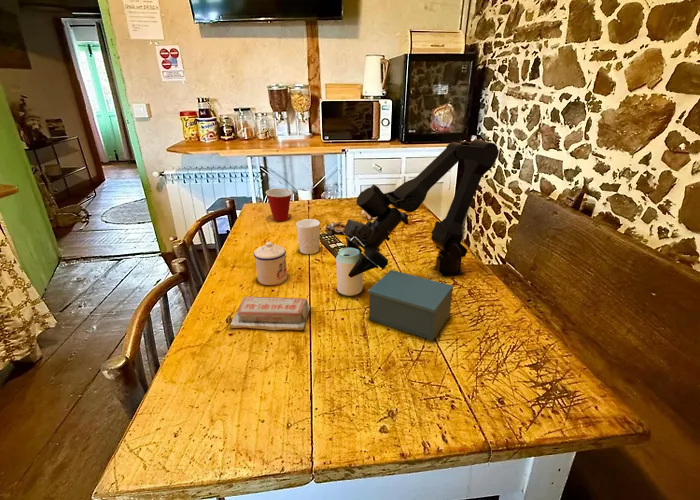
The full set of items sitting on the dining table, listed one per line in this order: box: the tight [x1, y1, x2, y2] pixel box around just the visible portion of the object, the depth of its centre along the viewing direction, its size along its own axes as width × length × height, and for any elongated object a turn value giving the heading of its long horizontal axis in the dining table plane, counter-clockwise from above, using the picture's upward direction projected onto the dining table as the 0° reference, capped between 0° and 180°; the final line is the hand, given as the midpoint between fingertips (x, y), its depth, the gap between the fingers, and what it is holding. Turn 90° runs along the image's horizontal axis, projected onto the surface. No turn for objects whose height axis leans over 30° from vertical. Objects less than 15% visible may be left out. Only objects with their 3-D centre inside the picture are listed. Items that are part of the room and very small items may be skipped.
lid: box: [367, 269, 454, 313], centre depth 94 cm, size 12×17×1 cm
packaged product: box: [229, 296, 311, 331], centre depth 98 cm, size 18×5×10 cm
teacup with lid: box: [253, 241, 288, 286], centre depth 116 cm, size 12×9×12 cm
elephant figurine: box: [361, 209, 376, 221], centre depth 162 cm, size 7×8×6 cm
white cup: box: [295, 218, 321, 255], centre depth 134 cm, size 8×8×10 cm
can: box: [335, 247, 364, 297], centre depth 108 cm, size 7×7×12 cm
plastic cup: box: [265, 188, 293, 222], centre depth 162 cm, size 11×11×12 cm
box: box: [368, 288, 454, 341], centre depth 97 cm, size 12×17×8 cm
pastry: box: [324, 220, 346, 236], centre depth 150 cm, size 7×12×4 cm, turn 89°
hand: (344, 270), depth 107 cm, fingers closed on can, 7 cm apart
